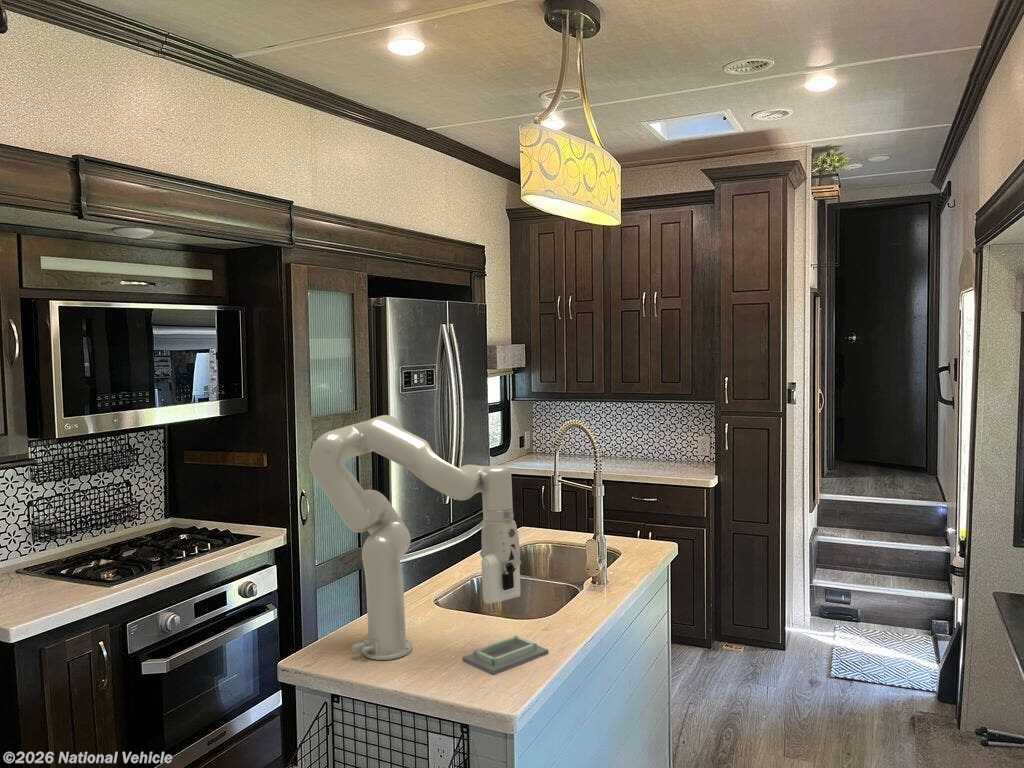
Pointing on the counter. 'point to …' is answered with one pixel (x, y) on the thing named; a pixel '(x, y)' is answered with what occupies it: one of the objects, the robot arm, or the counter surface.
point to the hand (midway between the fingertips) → (501, 585)
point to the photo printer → (497, 581)
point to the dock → (505, 655)
